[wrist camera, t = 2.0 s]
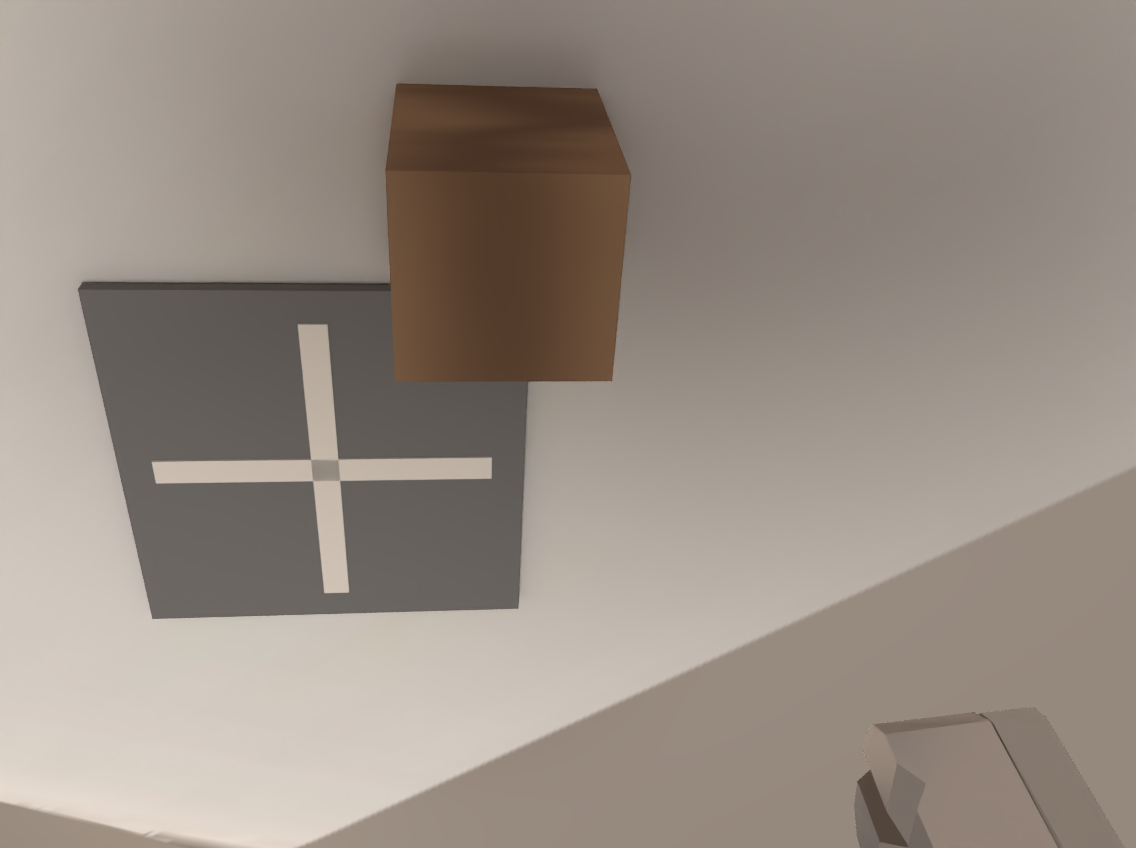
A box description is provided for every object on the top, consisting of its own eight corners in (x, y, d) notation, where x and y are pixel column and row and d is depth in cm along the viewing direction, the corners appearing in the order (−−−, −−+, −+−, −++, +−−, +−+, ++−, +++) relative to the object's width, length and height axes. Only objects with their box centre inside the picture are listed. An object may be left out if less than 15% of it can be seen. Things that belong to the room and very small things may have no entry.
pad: (530, 285, 30) (531, 293, 29) (517, 600, 36) (518, 609, 36) (82, 282, 28) (77, 290, 28) (155, 610, 35) (152, 620, 35)
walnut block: (596, 88, 27) (630, 174, 22) (584, 268, 30) (611, 381, 25) (397, 83, 26) (385, 170, 21) (402, 266, 29) (394, 381, 24)
